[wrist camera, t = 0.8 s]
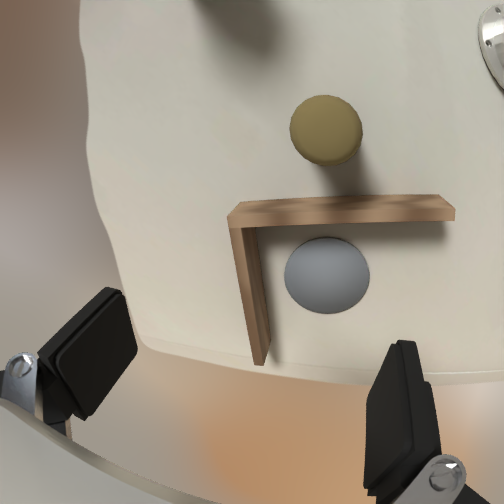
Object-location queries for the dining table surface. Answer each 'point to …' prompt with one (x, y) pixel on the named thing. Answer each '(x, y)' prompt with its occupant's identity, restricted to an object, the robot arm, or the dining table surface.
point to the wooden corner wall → (304, 214)
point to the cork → (326, 130)
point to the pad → (326, 275)
